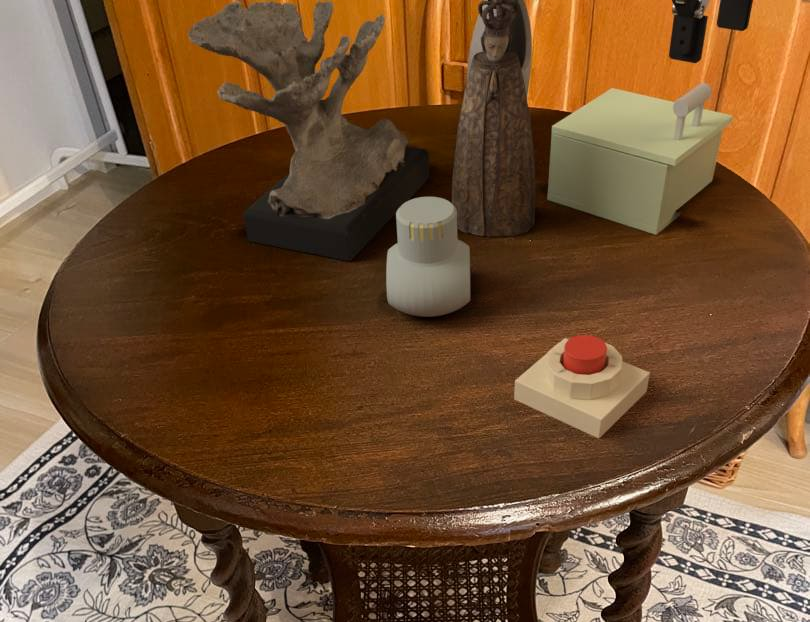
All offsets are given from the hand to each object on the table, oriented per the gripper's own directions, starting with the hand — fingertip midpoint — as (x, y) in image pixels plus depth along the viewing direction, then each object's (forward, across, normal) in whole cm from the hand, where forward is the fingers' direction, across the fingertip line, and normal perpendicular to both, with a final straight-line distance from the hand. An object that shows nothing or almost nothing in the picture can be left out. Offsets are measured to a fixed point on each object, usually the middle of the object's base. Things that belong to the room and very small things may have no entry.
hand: (708, 43), depth 86 cm
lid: (+9, 0, +6) cm, 11 cm away
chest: (+17, 0, +7) cm, 19 cm away
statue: (+17, -15, +16) cm, 28 cm away
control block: (+17, -35, -9) cm, 40 cm away
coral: (+17, -24, +36) cm, 46 cm away
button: (+14, -35, -9) cm, 39 cm away
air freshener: (+17, -31, +12) cm, 38 cm away
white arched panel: (+17, +1, +27) cm, 32 cm away
